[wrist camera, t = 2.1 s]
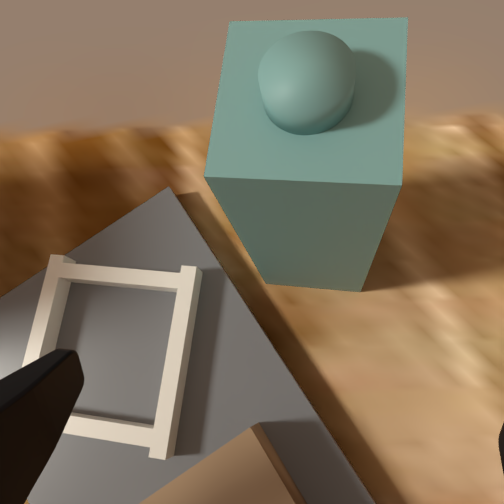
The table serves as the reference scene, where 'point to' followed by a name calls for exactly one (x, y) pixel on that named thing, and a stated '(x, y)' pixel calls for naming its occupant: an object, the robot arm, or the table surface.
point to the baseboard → (161, 366)
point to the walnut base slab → (234, 476)
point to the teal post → (310, 144)
